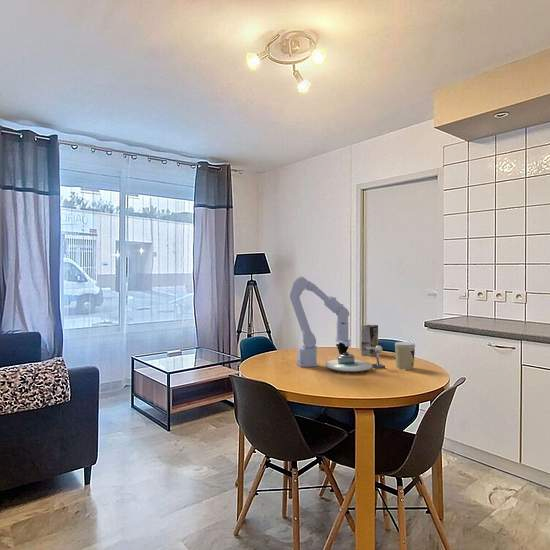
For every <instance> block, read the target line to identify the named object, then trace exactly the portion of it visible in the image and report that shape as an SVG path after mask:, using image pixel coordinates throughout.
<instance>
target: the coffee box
mask: <svg viewBox="0 0 550 550" xmlns="http://www.w3.org/2000/svg"><path fill="white" fill-rule="evenodd" d="M360 330H361V336H360V337H361V338H360V342H361V345H360V346H361V350H360V351H361V352H360V355H361V356H368V357H372V356H375V355H376V356H377V352H376V351H375V349H366V347H376V346H378V345H379V325H378V324H377V325H376V324H365V325H361V329H360Z"/></svg>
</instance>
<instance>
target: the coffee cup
mask: <svg viewBox="0 0 550 550" xmlns="http://www.w3.org/2000/svg"><path fill="white" fill-rule="evenodd" d="M415 347H416V345H415V343H414V342H412V341H411V342H410V341H396V342H395V343H394V348H395V349H394V351H395V366H396V369H397V368H399V369H398V370H401V369H405V370H404V371H410V370H409V369H412V370H414V364H415V362H414V361H415V349H416V348H415Z"/></svg>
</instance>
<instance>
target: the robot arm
mask: <svg viewBox="0 0 550 550" xmlns="http://www.w3.org/2000/svg"><path fill="white" fill-rule="evenodd" d="M305 290H306V291H309V292H312V293H314V294H315V295H316V296H317V297H319V298H320V299H321V300H322V301H323V302H324V306H325V307H326V308H327V309H328V310H329V311H331V313H333V314H335V315H336V319H337V320H336V337H335V342H336V344H335V346H336V348H337V350H338V355H339V354H343V353H344V352H348V349H349V348H350V347H351V343H350V342H351V341H352V340H351V339H349V316H350V312H349V309H347V307H345V306H344V304H343V303H340V301H338V300H337V298H336V296H333V295H331V296H330V295H329V296H328V295H327V294H326V293H325V292H324V291H323V290H322V289H320V288H319V287H318V286H317V285H316V284H315V283H313V282H312V281H310V280H307V278H305V277H304V276H298V277H297V278H296V279H295V280H294V282H293V283H292V286H291V290H290V293H289V298H290V302H291V304H292V307H293V311H294V312H295V316H296V318H297V322H298V324H299V328H300V331H301V334H302V343H303V344H302V345H301V347H298V348H297V351H296V356H297V357H296V359H297V362H296V364H297V365H298V366H299V367H301V368H304V367H305V368H309V367H320V364H319V363H317V361H318V360H317V338H316V336H315V334H314V333H313V332H312V330H311V327H310V324H309V322H308V321H309V320H308V319H307V316H306V312H305V310H304V307H303V304H302V301H301V298H300V297H301V296H302V293H303V292H304V291H305Z"/></svg>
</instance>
